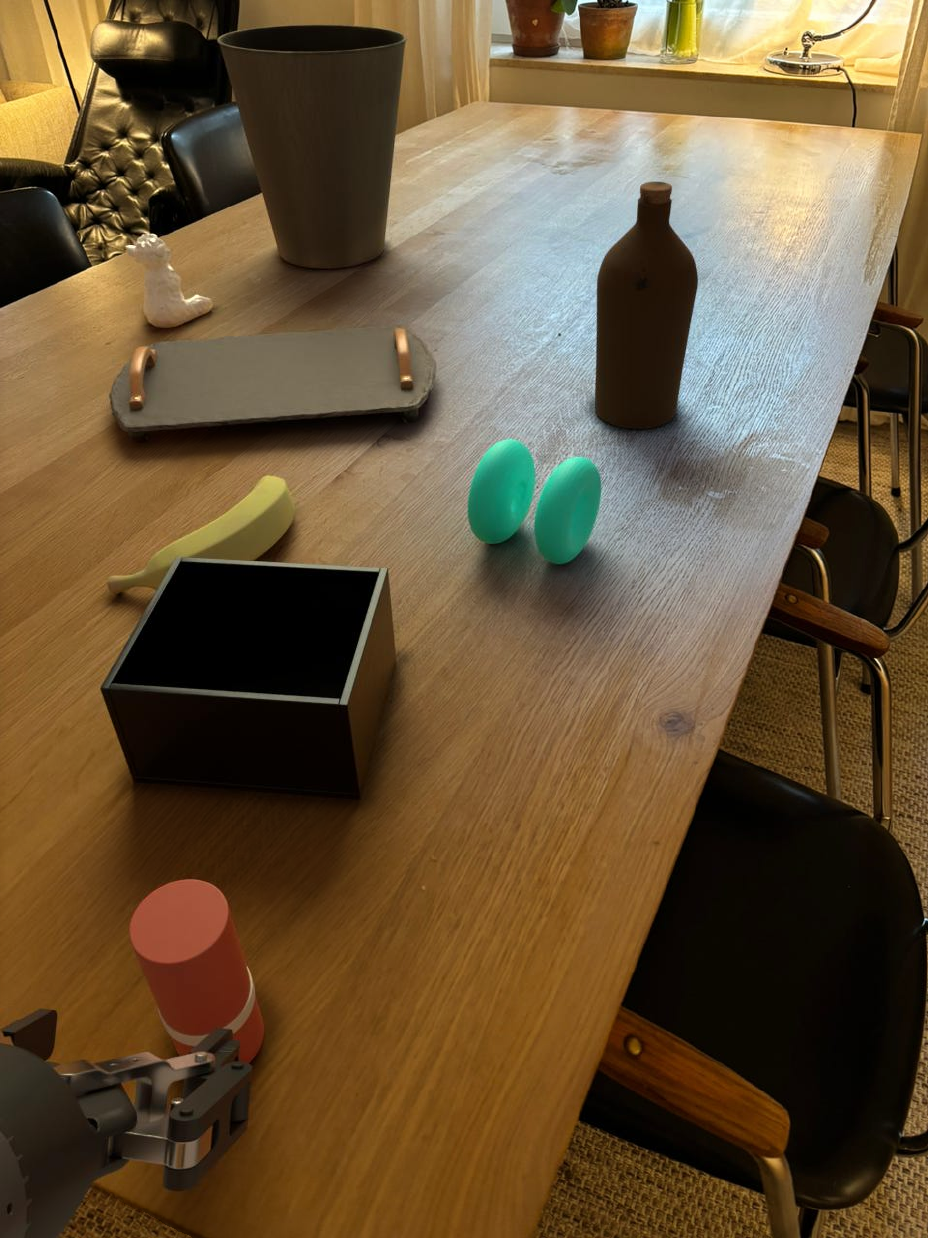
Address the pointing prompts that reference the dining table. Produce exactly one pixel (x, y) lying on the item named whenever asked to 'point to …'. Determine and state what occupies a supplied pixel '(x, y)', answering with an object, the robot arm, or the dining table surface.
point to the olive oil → (644, 317)
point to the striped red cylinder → (196, 966)
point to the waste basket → (320, 133)
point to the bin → (256, 677)
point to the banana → (225, 535)
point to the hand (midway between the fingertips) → (135, 1040)
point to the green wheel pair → (509, 493)
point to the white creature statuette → (164, 286)
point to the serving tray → (272, 379)
